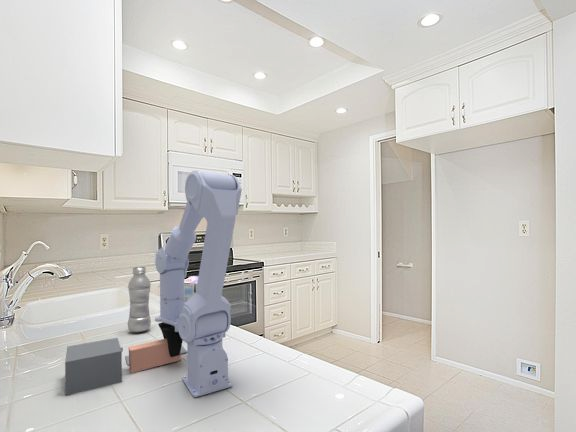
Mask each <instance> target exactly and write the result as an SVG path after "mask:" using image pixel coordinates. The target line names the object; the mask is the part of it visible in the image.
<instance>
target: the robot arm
mask: <svg viewBox="0 0 576 432" xmlns="http://www.w3.org/2000/svg"><path fill="white" fill-rule="evenodd" d="M242 190H243V189H242V186H241V184H240V182H239V180H238V178H237V176H236V175H234V174H224V173H223V174H220V173H212V172H204V171H203V172H202V171H199V170H193V171H191V172H190V173H189V174H188V175H187V177H186V179H185V186H184V192H185V199H186V204H185V208H184V211H183V214H182V218H181V220H180V222H179V225H177V226H174V227H173V228H172V230H171V232H170V235H169V237H168V239H167V241H166V244H165V246H162V247H161V248H160V249H159V248H158V249H157V251H156V254H155V261H154V262H155V269H156V270H157V272H158V273H159V305H160V306H159V307H160V308H159V310H160V311H159V314H160V315H159V316H156V317H154V321H155V322H156V323H158V324H157V325H158V327H159V328H160V331H161V333H162V337H163V339H167V343H168V350H169V354H170V357H175V356H179V355H180V351H181V346H183V342H184V343H186V344H187V345H186V347H187V349H186V351H187V353H186V354H187V355H186V356H187V375H182V377H181V379H182V381H183V382H184V384H185V386H186V387H187V389H188V390H189V392H190V393H191V395H192V397H193V398H197V397H202V396H204V395H207V394H211V393H215V392H219V391H221V390H225V389H227V388H228V389H229V388H231V387H233V382H231V381H230V380H229V360H228V359H229V358H228V354H227V352H226V351H225V349H224V347H223V339H224V338H226V333H227V332H228V331H229V329H230V327H231V323H232V319H231V318H232V317H231V307H232V305H231V303H230V302H229V299H227V298H226V297H224V296H223V289H224V286H225V285H224V283H225V278H226V274H227V269H228V268H227V267H228V262H229V256H230V251H231V245H232V241H233V234H234V230H235V229H234V228H235V224H236V216H237V215H238V212H239V208H240V207H239V206H240V202H241V201H240V200H241V195H242ZM203 218H205V220H206V228H205V233H204V234H205V235H204V242H203V246H202V247H203V248H202V255H201V258H200V265H199V272H198V276H199V277H198V283H197V289H196V293H195V294H194V295H193V296H192V297H191V298H190V299H188V300H187V301H186V302H185V284H184V280H185V278H186V279H187V273H188V272H187V271H188V268H189V264H190V263H189V262H190V259H189V254H190V252H191V250H192V248H193V246H194V244H195V242H196V240H197V234H196V232H195V231H196V229H197V228H198V226H199V224H200V223H201V222H202V220H203Z"/></svg>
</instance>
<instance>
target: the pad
mask: <svg viewBox="0 0 576 432" xmlns="http://www.w3.org/2000/svg"><path fill="white" fill-rule="evenodd" d="M180 353H181V355H184V354H187V349H186V348H185V347H184V345H182V346H181V351H180ZM124 358H125V361H126V364H127V366H128V367H129V355H125V356H124Z"/></svg>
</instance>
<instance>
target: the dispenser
mask: <svg viewBox="0 0 576 432" xmlns="http://www.w3.org/2000/svg"><path fill="white" fill-rule="evenodd" d="M123 351H124V346H123V343H122V340H121V339H119V338H118V337H114V338H113V337H112V338H107V339H102V340H96V341H91V342H85V343H79V344H75V345H69V346H67V347H66V353H65V361H64V363H65V364H64V378H65V379H64V381H65V382H64V385H65V386H64V387H65V390H64V394H65V396H68V395H72V394H77V393H80V392H85V391H90V390H93V389H97V388H98V389H99V388H103V387H106V386H109V385H114V384H119V383H122V382H123V375H122V374H123V372H122V371H123V369H122V367H123V366H122V365H123V363H122V359H123V358H122V357H123V355H122V353H123Z"/></svg>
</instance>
